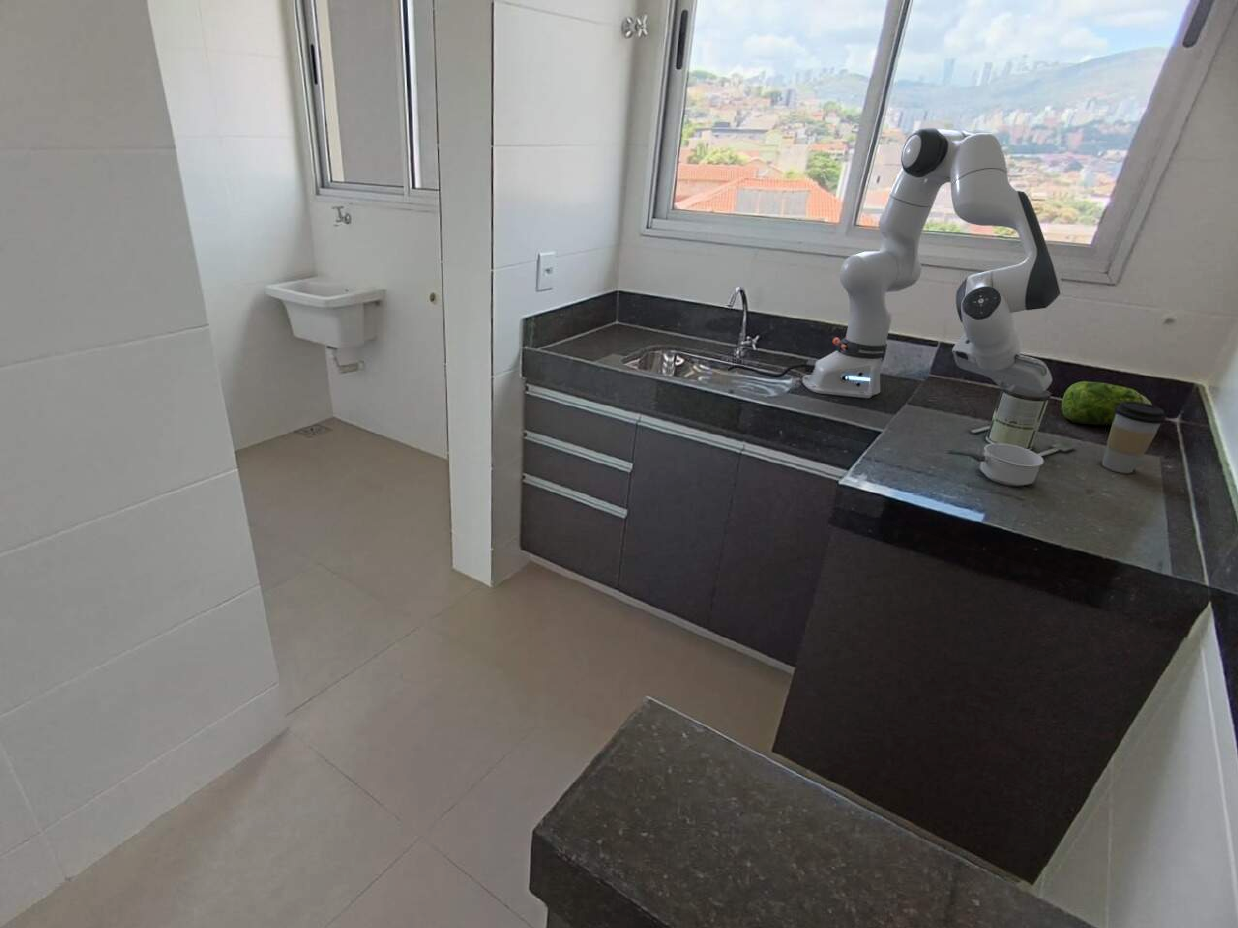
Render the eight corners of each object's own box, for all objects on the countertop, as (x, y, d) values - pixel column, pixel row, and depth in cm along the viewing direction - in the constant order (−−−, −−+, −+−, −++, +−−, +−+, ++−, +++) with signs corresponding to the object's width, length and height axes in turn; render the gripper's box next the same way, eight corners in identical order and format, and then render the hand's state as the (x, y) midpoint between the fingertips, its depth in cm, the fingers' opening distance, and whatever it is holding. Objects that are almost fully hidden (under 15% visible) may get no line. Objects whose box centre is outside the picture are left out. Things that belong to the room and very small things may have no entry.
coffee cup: (1144, 468, 152) (1171, 408, 146) (1138, 481, 146) (1166, 418, 140) (1097, 455, 158) (1121, 396, 152) (1089, 466, 152) (1113, 406, 145)
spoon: (1041, 460, 153) (1042, 457, 153) (1028, 455, 156) (1029, 452, 156) (1072, 449, 160) (1073, 447, 160) (1059, 444, 163) (1060, 442, 163)
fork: (976, 435, 166) (977, 433, 166) (967, 431, 168) (968, 429, 167) (1009, 425, 173) (1010, 424, 173) (1001, 422, 175) (1001, 420, 175)
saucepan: (930, 462, 149) (936, 439, 147) (1017, 467, 149) (1025, 444, 147) (951, 485, 139) (959, 461, 136) (1046, 490, 139) (1055, 467, 136)
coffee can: (978, 433, 167) (995, 380, 161) (1020, 437, 166) (1038, 384, 160) (995, 450, 158) (1013, 394, 152) (1039, 453, 157) (1060, 398, 151)
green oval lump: (1153, 436, 172) (1171, 395, 167) (1071, 428, 174) (1087, 388, 169) (1127, 419, 182) (1144, 381, 177) (1050, 413, 184) (1064, 374, 179)
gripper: (1054, 351, 134) (1062, 390, 143) (961, 327, 149) (974, 364, 158) (1035, 375, 133) (1044, 412, 142) (944, 348, 149) (958, 384, 158)
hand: (1007, 387), depth 150 cm, fingers closed
